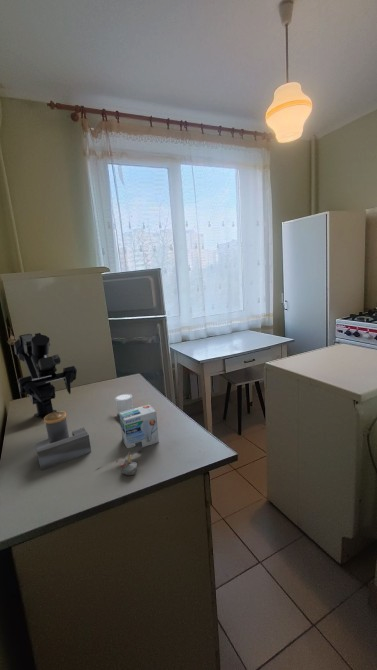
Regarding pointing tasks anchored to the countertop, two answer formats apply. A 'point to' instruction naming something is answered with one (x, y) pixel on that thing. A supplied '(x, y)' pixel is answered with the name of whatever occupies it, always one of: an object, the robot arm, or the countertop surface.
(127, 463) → the figurine
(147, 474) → the countertop surface
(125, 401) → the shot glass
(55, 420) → the gray cup
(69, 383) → the robot arm
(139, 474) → the countertop surface
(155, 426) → the light bulb box
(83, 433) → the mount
